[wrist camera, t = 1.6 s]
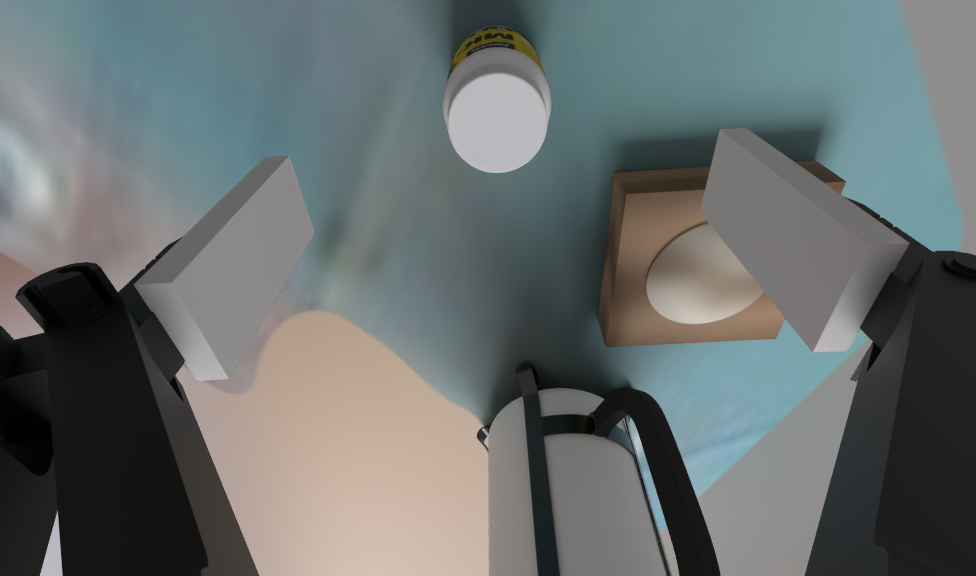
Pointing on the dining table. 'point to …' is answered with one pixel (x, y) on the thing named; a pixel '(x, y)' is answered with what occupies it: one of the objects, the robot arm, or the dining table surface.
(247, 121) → the dining table surface
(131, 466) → the robot arm
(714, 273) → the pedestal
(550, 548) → the coffee press
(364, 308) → the dining table surface
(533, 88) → the supplement bottle
